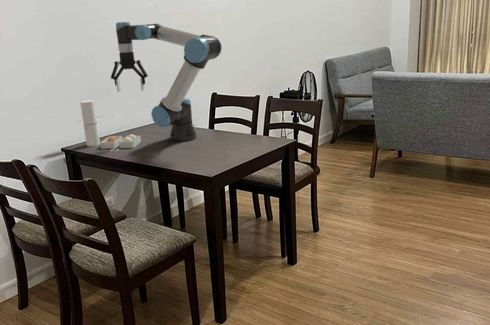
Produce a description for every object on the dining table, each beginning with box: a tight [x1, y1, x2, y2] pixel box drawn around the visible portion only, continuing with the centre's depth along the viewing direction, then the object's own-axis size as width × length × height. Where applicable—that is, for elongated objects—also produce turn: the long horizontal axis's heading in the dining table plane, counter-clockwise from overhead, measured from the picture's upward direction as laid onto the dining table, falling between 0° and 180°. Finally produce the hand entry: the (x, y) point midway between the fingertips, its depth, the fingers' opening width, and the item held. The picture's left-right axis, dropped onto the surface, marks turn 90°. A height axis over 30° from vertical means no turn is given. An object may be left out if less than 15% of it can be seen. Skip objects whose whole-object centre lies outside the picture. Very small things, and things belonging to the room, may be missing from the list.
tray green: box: [119, 135, 142, 149], centre depth 269 cm, size 8×13×4 cm, turn 174°
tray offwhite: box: [100, 135, 124, 150], centre depth 270 cm, size 8×13×4 cm, turn 174°
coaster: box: [109, 148, 120, 152], centre depth 260 cm, size 4×4×1 cm
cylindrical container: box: [79, 99, 101, 147], centre depth 271 cm, size 7×7×25 cm
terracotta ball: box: [107, 135, 116, 142], centre depth 270 cm, size 5×5×5 cm
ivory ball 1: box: [123, 136, 132, 142], centre depth 266 cm, size 5×5×5 cm
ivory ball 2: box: [127, 134, 137, 141], centre depth 271 cm, size 5×5×5 cm
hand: (131, 91), depth 270 cm, fingers open, 13 cm apart
